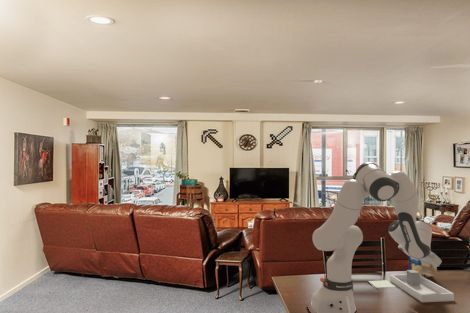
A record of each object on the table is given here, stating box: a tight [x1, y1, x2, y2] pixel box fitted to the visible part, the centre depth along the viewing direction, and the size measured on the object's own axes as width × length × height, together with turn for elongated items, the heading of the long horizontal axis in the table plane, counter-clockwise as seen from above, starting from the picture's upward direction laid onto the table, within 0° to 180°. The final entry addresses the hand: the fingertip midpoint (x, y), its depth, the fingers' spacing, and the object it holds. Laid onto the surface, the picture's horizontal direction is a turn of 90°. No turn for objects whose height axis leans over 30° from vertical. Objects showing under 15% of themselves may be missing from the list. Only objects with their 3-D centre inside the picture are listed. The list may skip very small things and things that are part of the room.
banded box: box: [422, 261, 438, 277], centre depth 162 cm, size 5×5×9 cm
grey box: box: [406, 269, 420, 286], centre depth 177 cm, size 4×4×7 cm
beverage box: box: [407, 246, 432, 278], centre depth 194 cm, size 7×11×22 cm, turn 7°
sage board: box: [367, 279, 397, 290], centre depth 179 cm, size 11×10×1 cm
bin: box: [389, 273, 455, 303], centre depth 168 cm, size 16×29×4 cm, turn 2°
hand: (430, 264), depth 163 cm, fingers closed on banded box, 4 cm apart
